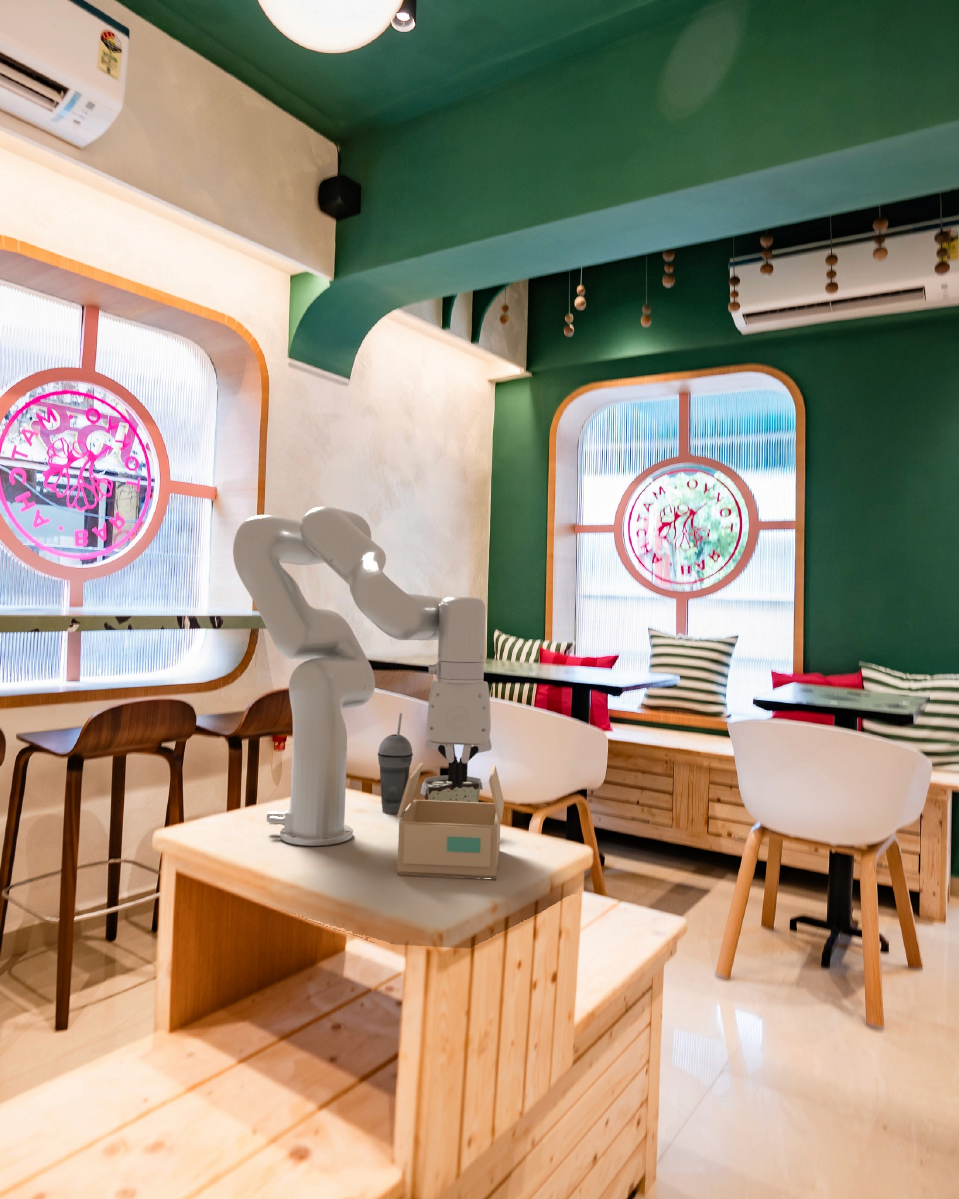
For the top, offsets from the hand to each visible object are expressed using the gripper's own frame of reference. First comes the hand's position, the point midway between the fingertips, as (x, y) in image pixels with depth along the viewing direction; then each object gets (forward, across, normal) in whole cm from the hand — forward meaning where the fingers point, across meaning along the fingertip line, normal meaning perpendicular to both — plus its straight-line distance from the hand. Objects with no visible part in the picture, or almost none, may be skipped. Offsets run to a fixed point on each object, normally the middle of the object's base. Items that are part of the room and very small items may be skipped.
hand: (457, 786), depth 129 cm
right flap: (+1, +6, 0) cm, 6 cm away
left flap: (+1, -7, 0) cm, 7 cm away
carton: (+12, -1, 0) cm, 12 cm away
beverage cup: (+12, -16, +33) cm, 39 cm away
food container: (+12, -4, +18) cm, 22 cm away
